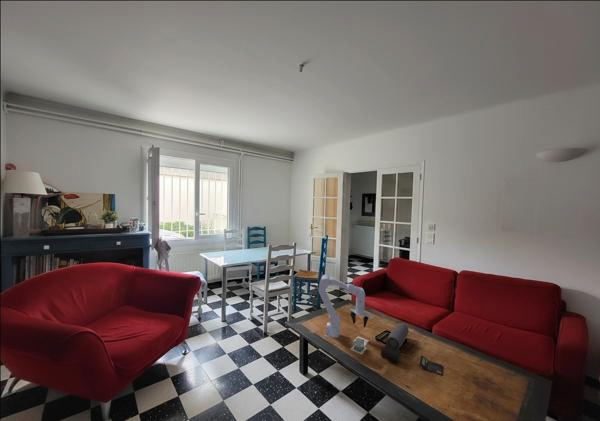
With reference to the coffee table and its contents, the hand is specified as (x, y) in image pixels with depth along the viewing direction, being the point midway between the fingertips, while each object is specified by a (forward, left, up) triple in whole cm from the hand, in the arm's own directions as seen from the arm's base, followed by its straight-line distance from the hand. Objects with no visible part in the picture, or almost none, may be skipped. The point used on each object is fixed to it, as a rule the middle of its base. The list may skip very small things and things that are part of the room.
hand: (359, 324), depth 170 cm
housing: (+5, -12, -9) cm, 16 cm away
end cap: (+24, -8, -11) cm, 27 cm away
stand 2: (+5, -13, -10) cm, 17 cm away
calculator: (+45, 0, -11) cm, 46 cm away
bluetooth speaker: (+23, +12, -11) cm, 28 cm away
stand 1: (+3, -4, -10) cm, 11 cm away
